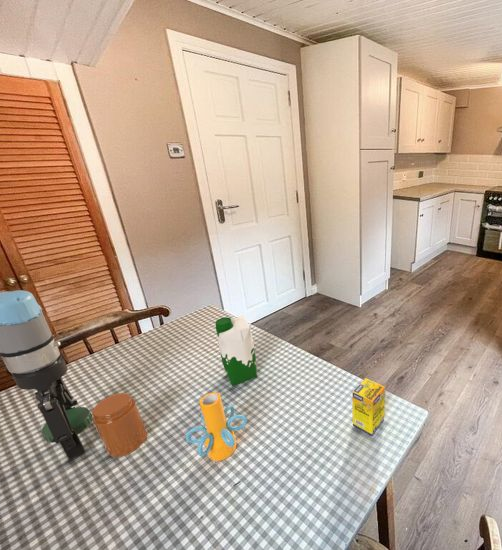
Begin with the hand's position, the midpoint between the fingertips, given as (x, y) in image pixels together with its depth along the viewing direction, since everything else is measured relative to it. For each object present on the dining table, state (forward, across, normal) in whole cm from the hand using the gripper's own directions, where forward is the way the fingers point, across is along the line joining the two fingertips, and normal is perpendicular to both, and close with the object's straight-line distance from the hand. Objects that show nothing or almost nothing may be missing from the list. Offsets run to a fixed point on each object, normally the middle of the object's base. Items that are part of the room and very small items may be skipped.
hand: (77, 442), depth 71 cm
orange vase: (+1, -25, -25) cm, 35 cm away
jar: (0, -8, -9) cm, 12 cm away
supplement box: (+1, -42, -55) cm, 69 cm away
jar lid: (-6, 0, 0) cm, 6 cm away
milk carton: (+1, -3, -38) cm, 38 cm away
